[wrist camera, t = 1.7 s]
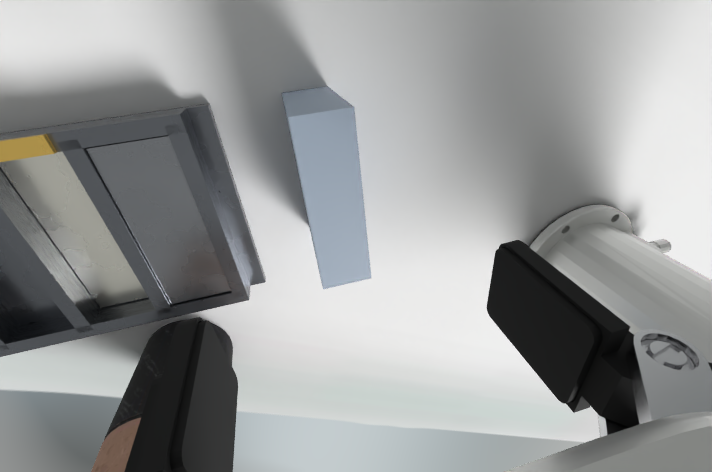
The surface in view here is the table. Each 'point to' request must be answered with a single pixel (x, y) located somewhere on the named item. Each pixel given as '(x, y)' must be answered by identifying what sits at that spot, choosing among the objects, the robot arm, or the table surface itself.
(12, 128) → the table surface
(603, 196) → the table surface
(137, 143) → the rack
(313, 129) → the panel
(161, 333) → the travel mug
